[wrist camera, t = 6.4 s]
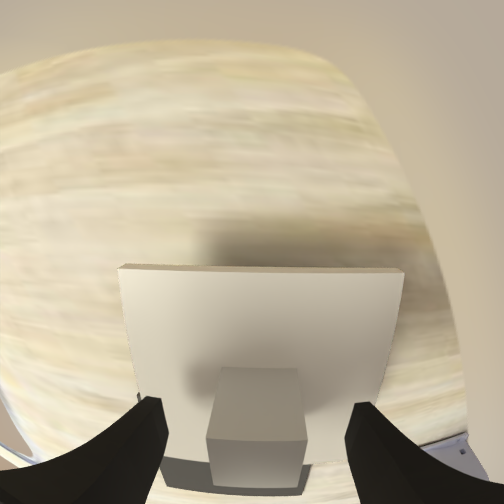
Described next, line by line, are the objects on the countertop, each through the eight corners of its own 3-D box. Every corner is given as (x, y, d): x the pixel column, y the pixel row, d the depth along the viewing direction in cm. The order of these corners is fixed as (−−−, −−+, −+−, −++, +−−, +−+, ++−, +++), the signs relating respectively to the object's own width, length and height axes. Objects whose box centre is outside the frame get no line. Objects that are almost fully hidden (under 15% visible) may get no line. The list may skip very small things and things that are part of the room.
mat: (323, 403, 18) (324, 406, 17) (301, 492, 20) (301, 495, 20) (138, 392, 18) (136, 395, 18) (167, 483, 21) (166, 486, 20)
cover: (396, 267, 11) (463, 313, 6) (352, 449, 13) (369, 513, 8) (126, 263, 11) (55, 306, 6) (161, 445, 13) (139, 507, 9)
